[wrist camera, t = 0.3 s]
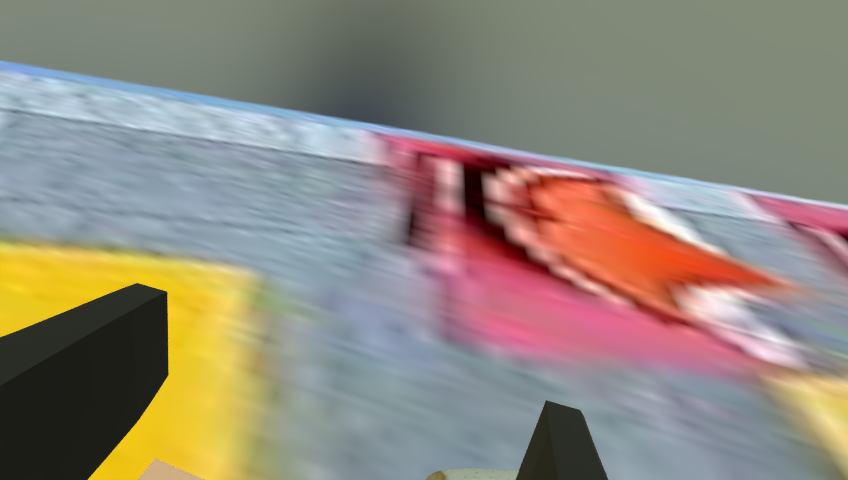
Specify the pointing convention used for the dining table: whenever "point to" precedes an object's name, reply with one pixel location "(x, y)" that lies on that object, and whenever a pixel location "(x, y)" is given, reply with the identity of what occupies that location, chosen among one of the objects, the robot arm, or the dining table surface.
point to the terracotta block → (165, 472)
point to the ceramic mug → (474, 474)
